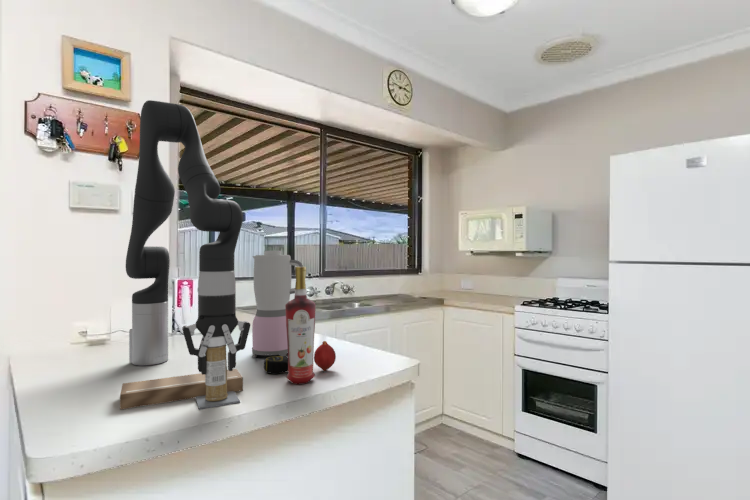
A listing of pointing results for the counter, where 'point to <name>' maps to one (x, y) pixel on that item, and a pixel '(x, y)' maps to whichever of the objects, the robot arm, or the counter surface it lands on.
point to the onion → (324, 356)
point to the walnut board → (171, 389)
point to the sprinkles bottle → (216, 369)
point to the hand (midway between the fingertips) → (217, 371)
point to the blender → (271, 302)
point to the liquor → (300, 332)
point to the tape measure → (276, 364)
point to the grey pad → (230, 399)
